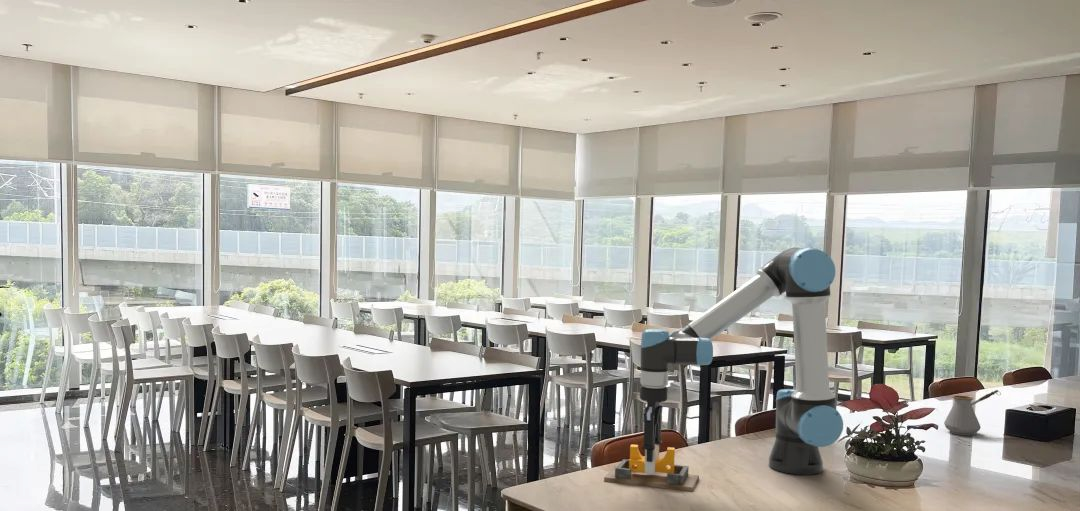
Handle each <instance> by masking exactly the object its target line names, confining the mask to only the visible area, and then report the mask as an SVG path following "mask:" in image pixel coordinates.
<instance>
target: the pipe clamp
mask: <svg viewBox="0 0 1080 511" xmlns="http://www.w3.org/2000/svg"><path fill="white" fill-rule="evenodd" d="M629 446H630V447H629V459H628V460H629V469H631V472H639V473H645V456H643V455H642V454H641V452H640V449H639V444H630V445H629ZM675 450H676V448H675V447H670V446H668V447H667V449H666V451H665V452H666V453H665V454H664V455H663V457H661V458H659V460H656V461H655V472H660V473H672V474H674V465H675V458H676V457H675ZM668 466H669V467H668Z"/></svg>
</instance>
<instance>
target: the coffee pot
mask: <svg viewBox="0 0 1080 511" xmlns="http://www.w3.org/2000/svg"><path fill="white" fill-rule="evenodd" d="M998 393H999V394H998ZM995 394H996V395H997V396H1001V395H1002V393H1001V392H1000V391H999V390H998V389H996V390H994V391H991V392H989V393H986V394H985V395H984V396H981V397H980V398H978V399H977V400H975V401H973V400H974V397H973V396H972V397H971V396H966V395H953V396H952V398H953V400H954V403H953V405H952V407H951V409H950V411H949V412H948V414H947V416H946V419H945V420H944V422H943V423H944V424H943V425H944V426H945V428H946V429H947V430H948V431H949V433H951V434H955V435H959V436H974V435H975V434H977V433H978V432H979V431H980V430H981V424H980V421H979V419H978V417H977V415H976V413H975V411H974V408H973V406H974V405H977V404H978V403H980V402H982V401H984V400H986V399H989V398H991V396H995Z"/></svg>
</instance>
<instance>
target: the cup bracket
mask: <svg viewBox="0 0 1080 511" xmlns="http://www.w3.org/2000/svg"><path fill="white" fill-rule="evenodd" d="M699 479H700V475H698V474H689V466H688V465H682V464H680V465H679V464H674V474H672V473H660V472H655V474H651V473H639V472H631V469H629V459H625V458H624V459H622V460H621V461H620V462H619V463H618V464H617V465H614V466H613V467H612V468H611V469H610V470H609V471H608V472H607V474H606V475H605V476H603V481H604V482H610V483H611V482H612V483H620V484H627V485H637V486H645V487H653V488H654V487H655V488H661V489H670V490H677V491H686V492H693V491H694V490H695V488H696V485H697V484H698V482H699Z"/></svg>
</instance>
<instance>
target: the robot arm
mask: <svg viewBox="0 0 1080 511" xmlns="http://www.w3.org/2000/svg"><path fill="white" fill-rule="evenodd" d="M756 272H757V274H756V275H754V276H753V277H752V278H751V279H749V280H748V281H746V282H745V283H744V284H742V285H741V286H740V287H738V288H737V289H736V290H734V291H733V292H731V293H729V295H727V296H725V298H723V299H721V300H720V301H718V302H717V303H716V304H714V305H713V306H711V307H710V308H708V310H706V311H705V312H702V314H700V315H699V316H698V317H696V318H695V319H693V320H692V321H691V322H689V323H688V324H687V325H685V326H684V327H682V328H681V329H680V330H676V331H672V332H671V333H669V331H668V330H667V329H662V328H661V329H659V328H647V329H643V331H642V332H641V341H640V372H638V376H639V377H640V378H639V379H640V380H639V382H640V386H639V399H640V400H641V401H643V402H646V403H647V404H646V407H644V412H643V420H644V421H643V422H644V424H643V446H642V447H641V448H642V450H644V458H645V473H651V474H655V461H656V460H659V459H660V445H662V444H663V441H662V411H663V409H662V408H663V405H662V404H660V403H664V402H666V401H667V400H668V387H667V386H668V385H669V365H683V366H684V365H685V366H687V365H688V366H708V365H710V364H712V362H713V359H714V358H713V356H714V347H713V346H714V345H713V342H712V340H713V339H715V338H716V337H717V336H719V335H720V334H722V333H723V332H725V331H726V330H728V329H729V328H730V327H731V326H733V325H734V324H735V323H736V324H737V322H739V321H741V319H742V318H744V317H746V316H747V315H748V314H750V313H751V312H753V311H754V310H756V309H757V308H758V307H760V306H761V305H762V304H764V303H765V302H767V301H769V299H771V298H772V297H777V298H778V297H780V296H781V295H783V294H784V293H785V298H786V299H787V300H788V301H789V302H790V303H791V304H792V305H791V306H792V307H791V308H792V326H793V327H792V328H793V346H794V362H795V363H794V364H795V382H796V383H795V384H796V389H791V388H786V389H785V388H784V389H778V391H777V392H776V399H775V403H776V404H775V440H774V443H773V446H772V449H771V450H770V454H769V457H768V466H769V467H770V468H771V469H773V470H774V471H778V472H782V473H786V474H792V475H793V474H794V475H809V476H810V475H816V474H821V473H823V470H824V462H823V459H822V455H821V451H820V449H819V448H824V447H827V446H831V445H833V444H834V443H835V442H837V441H838V439H840V437H841V436H842V432H843V430H844V420H843V417H842V415H841V413H840V411H839V410H837V401H836V400H837V399H836V398H837V397H836V394H835V393H834V392H833V391H832V390H831V389H830V378H829V376H830V375H829V374H830V373H829V357H828V356H829V355H828V340H827V339H828V338H827V337H828V336H827V322H826V321H827V320H826V319H827V317H826V301H828V299H830V297H831V285H832V283H833V282H834V280H835V279H836V278H835V277H836V266H835V263H834V261H833V258H832V257H831V256H830V255H829V254H828V253H827V252H826V251H824V250H822V249H818V248H815V247H812V246H811V247H808V246H806V247H791V248H787V249H785V250H783V251H782V252H780V253H779V254H777V255H776V256H775V257H773V258H771V260H769V261H768V262H767V263H766V264H764V265H763V266H761V267H760V268H759V269H758V270H757V271H756Z"/></svg>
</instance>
